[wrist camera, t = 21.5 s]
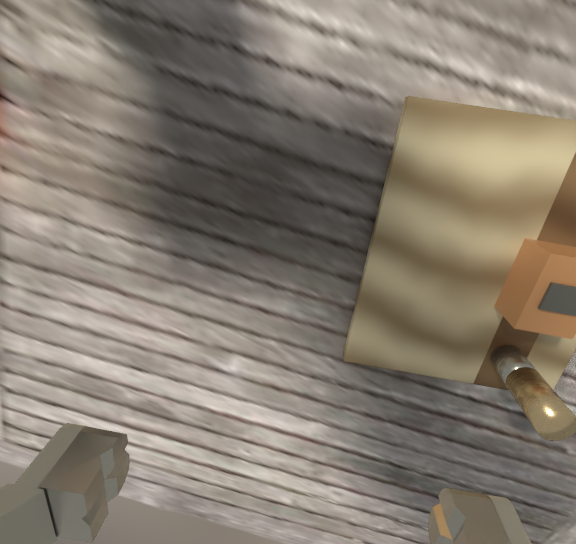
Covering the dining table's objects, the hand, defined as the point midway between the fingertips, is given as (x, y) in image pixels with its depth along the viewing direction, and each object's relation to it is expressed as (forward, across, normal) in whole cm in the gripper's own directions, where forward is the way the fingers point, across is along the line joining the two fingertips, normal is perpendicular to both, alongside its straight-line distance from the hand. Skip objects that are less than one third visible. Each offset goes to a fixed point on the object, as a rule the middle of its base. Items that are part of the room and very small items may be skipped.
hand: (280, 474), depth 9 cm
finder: (+25, -22, +3) cm, 33 cm away
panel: (+27, -17, +3) cm, 32 cm away
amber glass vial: (+25, -22, +12) cm, 35 cm away
